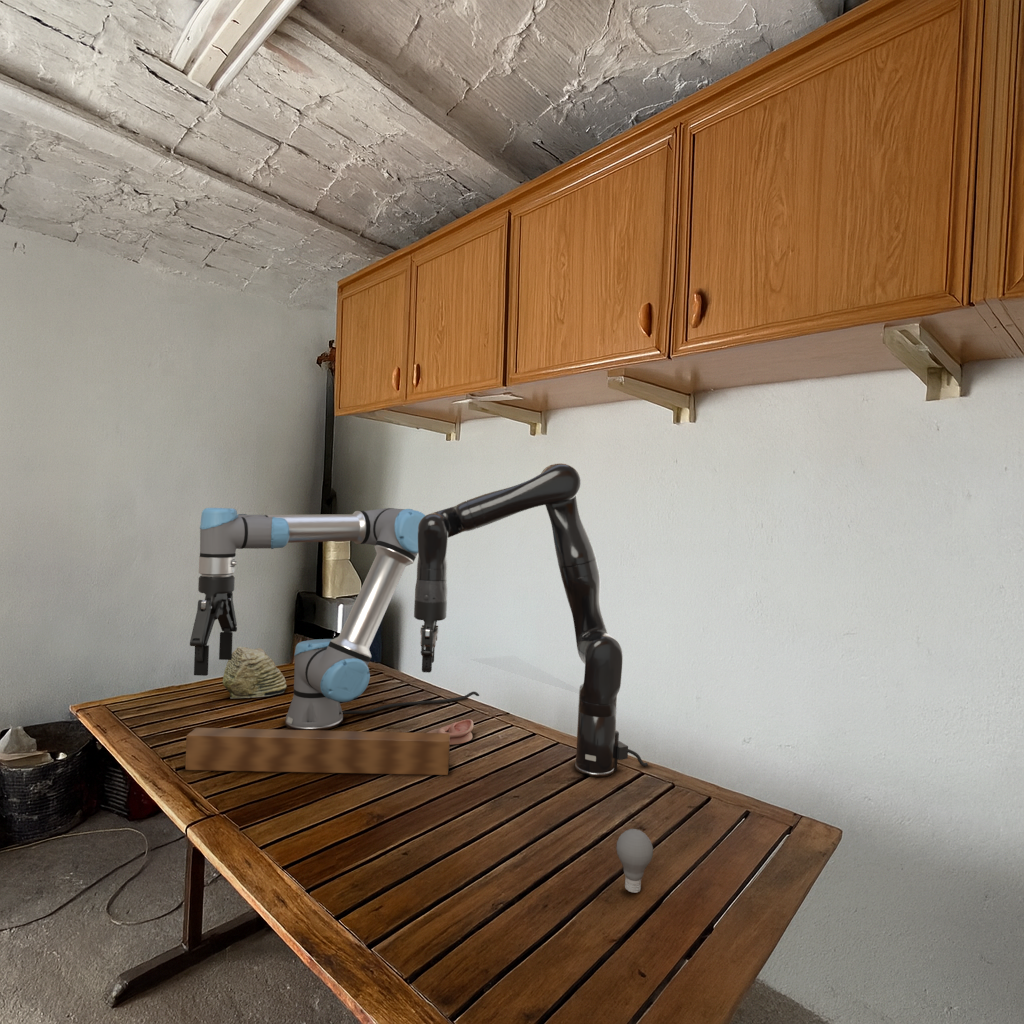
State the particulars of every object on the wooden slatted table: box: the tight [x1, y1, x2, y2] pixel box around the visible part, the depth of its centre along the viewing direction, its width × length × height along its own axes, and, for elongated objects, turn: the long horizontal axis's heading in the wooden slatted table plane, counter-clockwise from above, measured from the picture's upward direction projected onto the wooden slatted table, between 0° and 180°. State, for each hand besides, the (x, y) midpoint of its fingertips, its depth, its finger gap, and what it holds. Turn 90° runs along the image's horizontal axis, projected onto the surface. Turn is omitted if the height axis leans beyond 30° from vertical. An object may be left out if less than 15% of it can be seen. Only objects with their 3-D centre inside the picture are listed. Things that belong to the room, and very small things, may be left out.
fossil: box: [222, 646, 288, 699], centre depth 198 cm, size 9×18×15 cm, turn 132°
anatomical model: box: [426, 718, 474, 746], centre depth 169 cm, size 13×4×12 cm
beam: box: [185, 727, 451, 776], centre depth 148 cm, size 59×5×8 cm, turn 93°
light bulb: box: [615, 828, 654, 894], centre depth 106 cm, size 6×6×10 cm
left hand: (213, 667), depth 146 cm, fingers open, 13 cm apart
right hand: (428, 667), depth 149 cm, fingers open, 8 cm apart
